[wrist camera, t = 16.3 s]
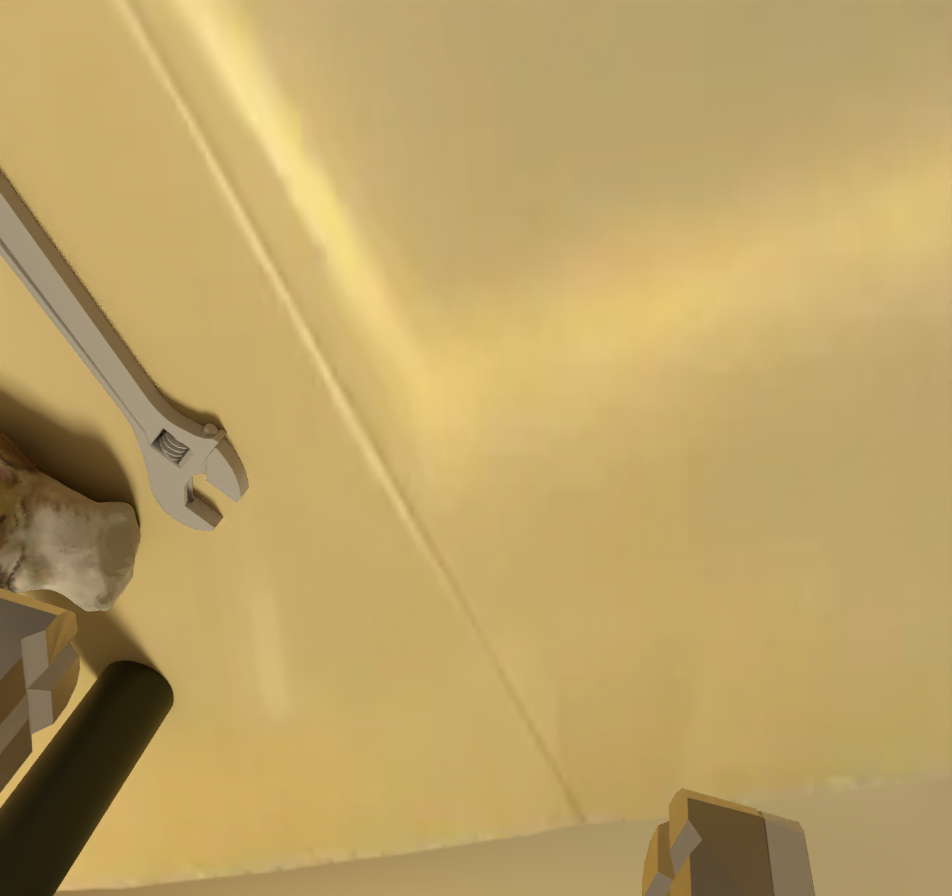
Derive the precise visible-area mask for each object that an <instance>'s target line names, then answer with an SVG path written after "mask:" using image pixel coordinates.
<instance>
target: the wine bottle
mask: <svg viewBox="0 0 952 896" xmlns="http://www.w3.org/2000/svg"><path fill="white" fill-rule="evenodd" d="M172 705H173V693H172V690H171V688H170V686H169V685H168V683H167V682H166V681H165V680H164V679H163V678H162V677H161V676H160V675H159V674H158V673H157V672H155V671H154V670H152V669H150V668H148V667H146V666H144V665H142V664H138V663H135V662H128V661H121V662H116V663H113V664H111V665H109V666H108V667H107V668H106V669H105V670H104V671H103V673H102V674H101V675H100V677H99V678H98V679H97V681H96V682H95V683H94V685H93V686H92V687H91V688H90V690H89V691H88V692H87V694H86V695H85V696H84V698H83V699H82V700H81V702H80V703H79V704H78V706H77V707H76V708H75V710H74V711H73V712H72V714H71V715H70V716H69V718H68V719H67V720H66V722H65V723H64V724H63V726H62V727H61V728H60V730H59V731H58V732H57V734H56V735H55V736H54V738H53V739H52V740H51V742H50V743H49V744H48V746H47V747H46V748H45V750H44V751H43V752H42V754H41V755H40V756H39V758H38V759H37V760H36V762H35V763H34V764H33V766H32V767H31V768H30V770H29V771H28V772H27V774H26V775H25V776H24V777H23V779H22V780H21V781H20V783H19V784H18V785H17V787H16V788H15V789H14V791H13V792H12V793H11V795H10V796H9V797H8V799H7V800H6V801H5V803H4V804H3V805H2V807H1V808H0V896H53V895H54V893H55V892H56V890H57V889H58V887H59V886H60V884H61V882H62V881H63V879H64V878H65V876H66V874H67V873H68V871H69V870H70V868H71V866H72V865H73V863H74V862H75V860H76V859H77V857H78V855H79V854H80V852H81V851H82V849H83V847H84V846H85V844H86V843H87V841H88V839H89V838H90V836H91V835H92V833H93V832H94V830H95V828H96V827H97V825H98V824H99V822H100V820H101V819H102V817H103V816H104V814H105V812H106V811H107V809H108V808H109V806H110V804H111V803H112V801H113V800H114V798H115V797H116V795H117V793H118V792H119V790H120V789H121V787H122V785H123V784H124V782H125V781H126V779H127V777H128V776H129V774H130V773H131V771H132V770H133V768H134V766H135V765H136V763H137V762H138V760H139V758H140V757H141V755H142V754H143V752H144V750H145V749H146V747H147V746H148V744H149V742H150V741H151V739H152V738H153V736H154V735H155V733H156V731H157V730H158V728H159V727H160V725H161V723H162V722H163V720H164V719H165V717H166V715H167V714H168V712H169V711H170V709H171V707H172Z"/></svg>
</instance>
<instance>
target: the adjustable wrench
mask: <svg viewBox="0 0 952 896" xmlns="http://www.w3.org/2000/svg"><path fill="white" fill-rule="evenodd" d="M0 254H1V256H2V257H3V258H4V259H5V261H6V262H7V263H8V265H9V266H10V267H11V269H12V270H13V271H14V272H15V274H16V275H17V276H18V278H19V279H20V280H21V282H22V283H23V284H24V285H25V287H26V288H27V289H28V291H29V292H30V293H31V295H32V296H33V297H34V298H35V300H36V301H37V302H38V304H39V305H40V306H41V307H42V309H43V310H44V311H45V313H46V314H47V315H48V317H49V318H50V319H51V320H52V322H53V323H54V324H55V326H56V327H57V328H58V330H59V331H60V332H61V333H62V335H63V336H64V337H65V339H66V340H67V341H68V342H69V344H70V345H71V346H72V348H73V349H74V350H75V352H76V353H77V354H78V355H79V357H80V358H81V359H82V361H83V362H84V363H85V365H86V366H87V367H88V368H89V370H90V371H91V372H92V374H93V375H94V376H95V378H96V379H97V380H98V381H99V383H100V384H101V385H102V387H103V388H104V389H105V390H106V392H107V393H108V394H109V396H110V397H111V398H112V400H113V401H114V402H115V403H116V405H117V406H118V407H119V409H120V410H121V411H122V413H123V414H124V415H125V417H126V418H127V420H128V421H129V423H130V425H131V427H132V429H133V431H134V433H135V435H136V437H137V440H138V443H139V446H140V449H141V452H142V454H143V458H144V461H145V464H146V469H147V473H148V477H149V482H150V486H151V490H152V493H153V495H154V497H155V499H156V500H157V502H158V503H159V505H160V506H161V508H162V509H163V510H164V511H165V512H166V513H168V514H169V515H170V516H171V517H172V518H173V519H175V520H177V521H178V522H180V523H182V524H184V525H186V526H189V527H191V528H194V529H196V530H203V531H211V530H213V529H214V528H215V527H216V526H217V525H218V523H219V522H220V521H221V519H222V518H223V516H221V515H220V514H219V513H217V512H216V511H214V510H213V509H212V508H210V507H209V506H207V505H206V504H205V503H203V502H202V501H201V500H199V499H198V498H196V497H195V496H194V492H193V476H194V475H197V474H201V473H207V479H206V480H207V481H208V482H209V483H211V484H212V485H214V486H215V487H216V488H218V489H219V490H220V491H222V492H223V493H224V494H226V495H227V496H228V497H230V498H231V499H232V500H234V501H235V502H238V501H239V500H240V498H241V497H242V496H243V495H244V493H245V492H246V491H247V489H248V488H249V485H248V478H247V474H246V471H245V468H244V466H243V464H242V462H241V460H240V458H239V456H238V455H237V453H236V452H235V450H234V449H233V448H232V447H231V445H230V444H229V443H228V442H227V440H226V439H225V438H223V437H224V436H225V435H226V433H227V432H225V431H223V430H219V429H217V428H216V426H215V425H213V424H211V423H208V424H206V425H205V426H202V425H200V424H198V423H196V422H195V421H193V420H191V419H189V418H187V417H185V416H183V415H182V414H180V413H179V412H178V411H176V410H175V409H174V408H173V407H172V406H171V405H170V404H169V403H167V402H166V400H165V399H164V398H163V397H162V396H161V394H160V393H159V392H158V391H157V389H156V388H155V386H154V385H153V384H152V382H151V381H150V379H149V378H148V377H147V375H146V374H145V372H144V371H143V370H142V368H141V367H140V365H139V364H138V363H137V361H136V360H135V358H134V357H133V356H132V354H131V353H130V351H129V350H128V349H127V347H126V346H125V344H124V343H123V342H122V340H121V339H120V337H119V336H118V335H117V333H116V332H115V330H114V329H113V328H112V326H111V325H110V323H109V322H108V321H107V319H106V318H105V316H104V315H103V314H102V312H101V311H100V309H99V308H98V307H97V305H96V304H95V302H94V301H93V300H92V298H91V297H90V295H89V294H88V293H87V291H86V290H85V288H84V287H83V286H82V284H81V283H80V281H79V280H78V279H77V277H76V276H75V274H74V273H73V272H72V270H71V269H70V267H69V266H68V265H67V263H66V262H65V260H64V259H63V258H62V256H61V255H60V253H59V252H58V251H57V249H56V248H55V246H54V245H53V244H52V242H51V241H50V239H49V238H48V237H47V235H46V234H45V233H44V231H43V230H42V228H41V227H40V226H39V224H38V223H37V221H36V220H35V219H34V217H33V216H32V214H31V213H30V212H29V210H28V209H27V207H26V206H25V205H24V203H23V202H22V200H21V199H20V198H19V196H18V195H17V193H16V192H15V191H14V189H13V188H12V186H11V185H10V184H9V182H8V181H7V179H6V178H5V177H4V175H3V174H2V172H1V171H0ZM164 429H165V430H166V432H165V433H164V435H163V436H162V437H161V436H160V434H161V433H162V431H163V430H164ZM222 438H223V439H222Z"/></svg>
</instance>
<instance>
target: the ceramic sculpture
mask: <svg viewBox="0 0 952 896" xmlns="http://www.w3.org/2000/svg"><path fill="white" fill-rule="evenodd" d="M140 536H141V534H140V530H139V526H138V524H137V520H136V516H135V511H134V509H133V507H132V506H131V505H129V504H128V503H124V502H100V503H98V502H95V501H92V500H91V499H89V498H87V497H86V496H84V495H82V494H80V493H78V492H76V491H74V490H72V489H70V488H68V487H67V486H65V485H63V484H62V483H60V482H59V481H57V480H55V479H53V478H51V477H50V476H48V475H46V474H44V473H42V472H40V471H39V470H38V469H37V467H36V465H35V464H34V463H33V462H32V461H31V460H30V459H29V458H28V457H27V456H26V455H25V454H24V453H23V452H22V451H21V450H20V449H19V448H18V447H17V446H16V445H15V444H14V443H13V442H12V441H11V440H10V439H9V438H8V437H6V436H5V435H3V434H1V433H0V588H1V589H4V590H7V591H10V592H14V593H17V594H19V593H21V592H27V591H29V590H40V589H49V590H53V591H55V592H58V593H60V594H62V595H64V596H66V597H67V598H69V599H70V600H71V601H72V602H73V603H75V604H76V605H78V606H79V607H81V608H82V609H84V610H85V611H98V610H101V611H107V610H109V609H110V608H111V607H112V605H113V604H114V602H115V601H116V600H117V598H118V597H119V596H120V595H121V593H122V592H123V591H124V589H125V588H126V586H127V585H128V583H129V582H130V580H131V578H132V576H133V566H134V563H135V556H136V553H137V549H138V546H139V543H140Z"/></svg>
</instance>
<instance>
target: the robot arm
mask: <svg viewBox="0 0 952 896" xmlns="http://www.w3.org/2000/svg"><path fill="white" fill-rule="evenodd" d="M77 632H78V628H77V619H76V613H74V612H72V611H69V610H66V609H63V608H60V607H57V606H54V605H51V604H48V603H45V602H42V601H38V600H35V599H32V598H29V597H26V596H23V595H20V594H17V593H14V592H10V591H7V590H4V589H1V588H0V793H1V791H2V790H3V789H4V787H5V786H6V785H7V784H8V782H9V781H10V780H11V778H12V777H13V776H14V775H15V773H16V772H17V771H18V769H19V768H20V767H21V765H22V764H23V763H24V762H25V760H26V759H27V758H28V756H29V755H30V754H31V752H32V736H31V734H33V733H35V732H37V731H39V730H41V729H44V728H46V727H48V726H50V725H52V724H54V722H55V721H56V720H57V718H58V717H59V716H60V714H61V713H62V711H63V710H64V709H65V707H66V706H67V704H68V702H69V700H70V697H71V695H72V693H73V691H74V689H75V687H76V685H77V680H78V675H79V670H80V660H79V654H78V653H77V651H76V650H75V649H74V647H73V646H72V645H71V643H70V642H69V641H70V640H71V639H72V638H73V636H74V635H75V634H76V633H77ZM642 896H815V891H814V886H813V880H812V874H811V868H810V863H809V858H808V851H807V846H806V840H805V835H804V830H803V828H802V827H801V825H800V823H799V822H796V821H793V820H790V819H786V818H782V817H779V816H776V815H773V814H769V813H765V812H762V811H757V810H756V809H755V808H751V807H748V806H744V805H740V804H737V803H733V802H730V801H726V800H722V799H719V798H715V797H712V796H708V795H704V794H701V793H697V792H694V791H690V790H686V789H683V788H682V789H681V790H679V791H678V792H676V794H675V796H674V797H673V799H672V801H671V803H670V804H669V821H668V822H666V823H663V824H661V825H658V826H657V829H656V831H655V833H654V835H653V837H652V839H651V841H650V844H649V847H648V851H647V855H646V859H645V862H644V871H643V879H642Z"/></svg>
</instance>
